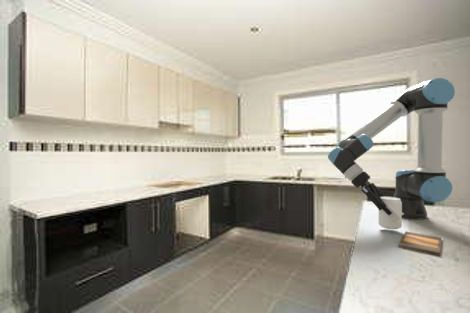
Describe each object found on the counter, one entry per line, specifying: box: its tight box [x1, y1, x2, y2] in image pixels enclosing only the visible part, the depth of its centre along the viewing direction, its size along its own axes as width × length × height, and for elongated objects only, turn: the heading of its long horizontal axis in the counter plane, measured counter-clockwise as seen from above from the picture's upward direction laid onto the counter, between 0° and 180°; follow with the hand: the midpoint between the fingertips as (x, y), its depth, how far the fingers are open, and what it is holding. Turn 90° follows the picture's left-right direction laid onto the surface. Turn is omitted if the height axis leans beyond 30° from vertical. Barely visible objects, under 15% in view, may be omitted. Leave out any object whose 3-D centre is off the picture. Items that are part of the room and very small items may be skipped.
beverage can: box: [378, 196, 403, 230], centre depth 103 cm, size 8×8×12 cm
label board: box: [398, 231, 442, 257], centre depth 90 cm, size 18×11×1 cm, turn 139°
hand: (399, 218), depth 101 cm, fingers closed on beverage can, 8 cm apart
